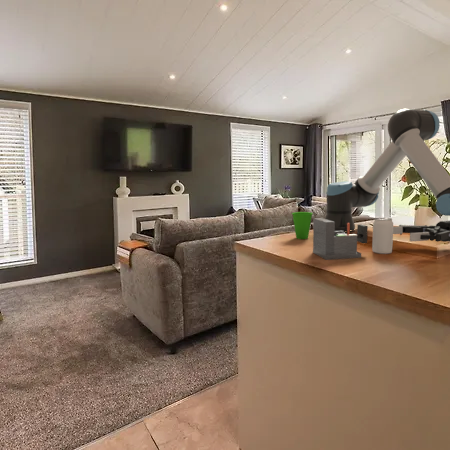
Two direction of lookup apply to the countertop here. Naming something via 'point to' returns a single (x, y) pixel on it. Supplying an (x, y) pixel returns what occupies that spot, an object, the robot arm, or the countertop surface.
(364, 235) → the plunger
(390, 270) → the countertop surface
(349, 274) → the countertop surface
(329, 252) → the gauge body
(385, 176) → the robot arm
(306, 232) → the cup
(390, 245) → the can
